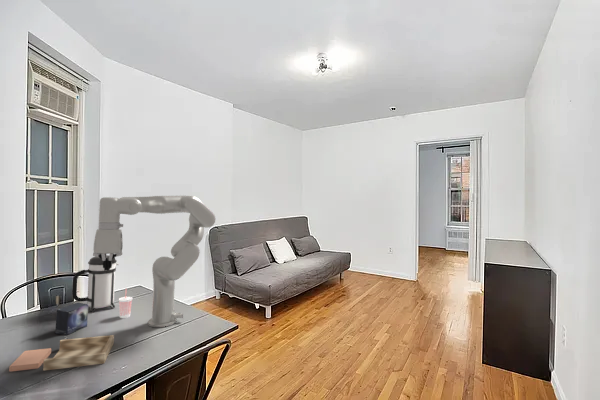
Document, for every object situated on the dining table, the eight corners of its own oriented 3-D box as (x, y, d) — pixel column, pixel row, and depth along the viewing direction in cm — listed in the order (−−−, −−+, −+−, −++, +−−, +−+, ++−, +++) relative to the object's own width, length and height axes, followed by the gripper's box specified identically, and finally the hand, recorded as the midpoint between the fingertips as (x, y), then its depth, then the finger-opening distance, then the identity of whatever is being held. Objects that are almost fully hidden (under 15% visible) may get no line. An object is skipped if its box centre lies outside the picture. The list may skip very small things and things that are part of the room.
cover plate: (51, 356, 118) (51, 348, 118) (38, 371, 108) (38, 363, 108) (24, 358, 116) (24, 350, 116) (9, 375, 105) (9, 366, 105)
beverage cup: (128, 313, 162) (129, 286, 162) (133, 316, 158) (135, 288, 158) (115, 316, 157) (116, 288, 157) (120, 319, 153) (122, 291, 153)
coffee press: (97, 301, 176) (99, 248, 176) (123, 304, 174) (125, 250, 174) (70, 312, 159) (72, 253, 159) (98, 315, 157) (101, 255, 157)
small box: (66, 336, 134) (67, 311, 134) (54, 334, 135) (55, 309, 135) (88, 326, 144) (89, 303, 144) (76, 324, 146) (77, 302, 146)
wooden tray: (113, 345, 128) (114, 334, 128) (104, 365, 113) (104, 353, 113) (60, 350, 122) (60, 339, 122) (43, 372, 107) (43, 360, 107)
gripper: (130, 225, 140) (128, 267, 140) (91, 225, 134) (89, 268, 135) (127, 227, 133) (125, 271, 133) (85, 227, 127) (83, 272, 127)
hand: (107, 269), depth 134 cm, fingers closed
